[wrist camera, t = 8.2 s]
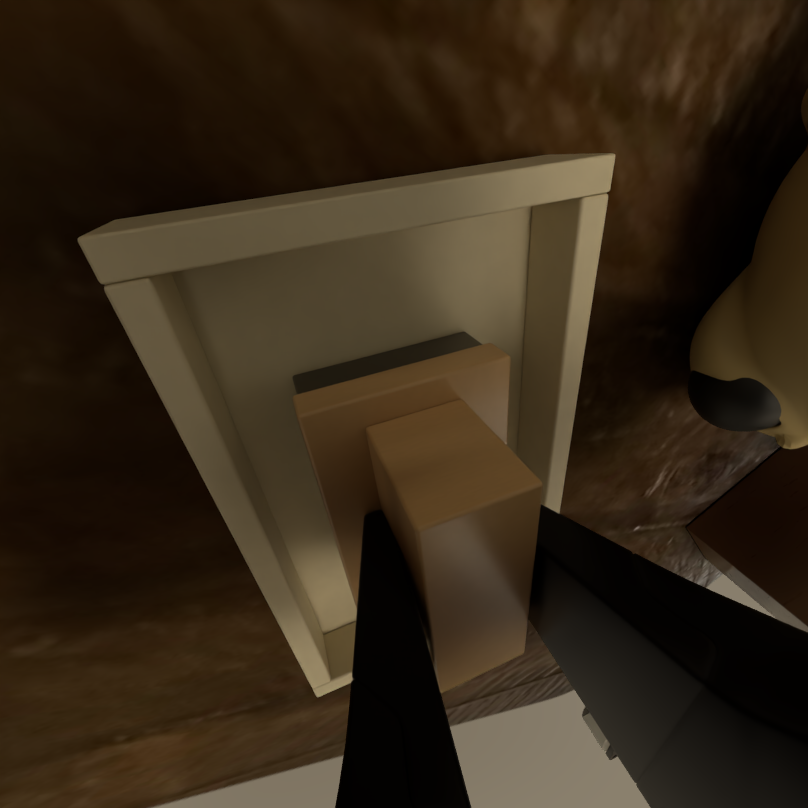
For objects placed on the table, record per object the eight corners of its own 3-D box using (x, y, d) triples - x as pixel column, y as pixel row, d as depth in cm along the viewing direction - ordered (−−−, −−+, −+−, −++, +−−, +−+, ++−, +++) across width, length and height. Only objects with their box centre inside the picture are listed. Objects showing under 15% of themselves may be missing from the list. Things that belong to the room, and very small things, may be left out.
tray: (517, 553, 16) (547, 595, 14) (307, 638, 14) (316, 699, 12) (546, 154, 8) (617, 152, 7) (112, 219, 6) (74, 237, 5)
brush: (472, 510, 13) (566, 647, 9) (343, 559, 12) (390, 733, 8) (468, 325, 9) (615, 427, 6) (285, 371, 8) (323, 530, 5)
